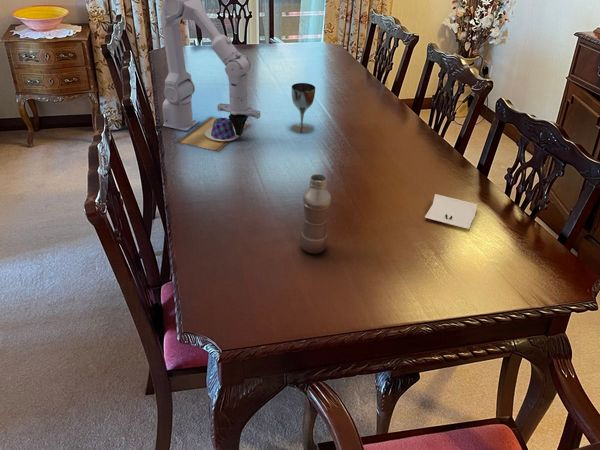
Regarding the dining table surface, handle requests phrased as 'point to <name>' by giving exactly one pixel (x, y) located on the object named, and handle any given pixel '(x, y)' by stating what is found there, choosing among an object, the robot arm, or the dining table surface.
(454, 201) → the folded paper
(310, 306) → the dining table surface
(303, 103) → the wine glass
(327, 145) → the dining table surface
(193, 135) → the placemat
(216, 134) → the pudding
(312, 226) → the plastic bottle
